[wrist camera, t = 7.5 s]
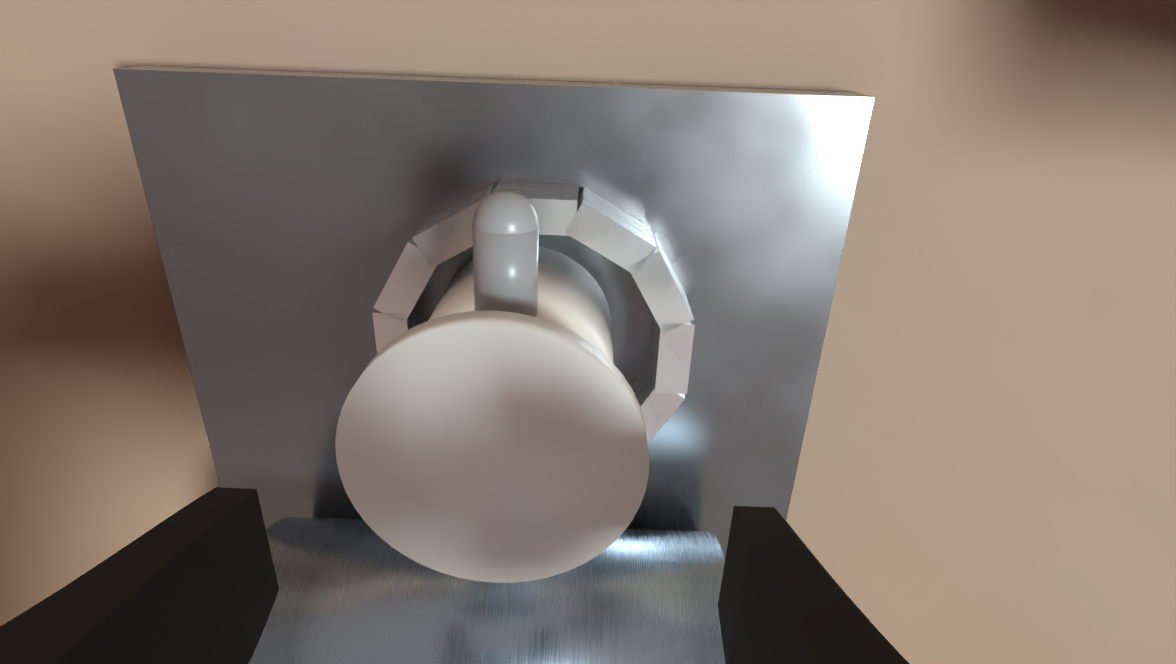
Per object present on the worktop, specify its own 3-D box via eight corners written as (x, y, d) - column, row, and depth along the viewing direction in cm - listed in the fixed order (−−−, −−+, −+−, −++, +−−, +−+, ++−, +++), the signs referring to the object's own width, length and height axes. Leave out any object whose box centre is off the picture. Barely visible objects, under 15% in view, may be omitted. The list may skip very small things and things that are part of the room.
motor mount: (750, 625, 23) (809, 857, 17) (275, 609, 23) (150, 835, 17) (855, 92, 16) (1038, 141, 9) (146, 65, 16) (-175, 96, 9)
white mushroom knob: (624, 422, 18) (635, 589, 13) (425, 412, 18) (352, 576, 13) (647, 157, 15) (675, 231, 10) (407, 145, 15) (301, 213, 10)
